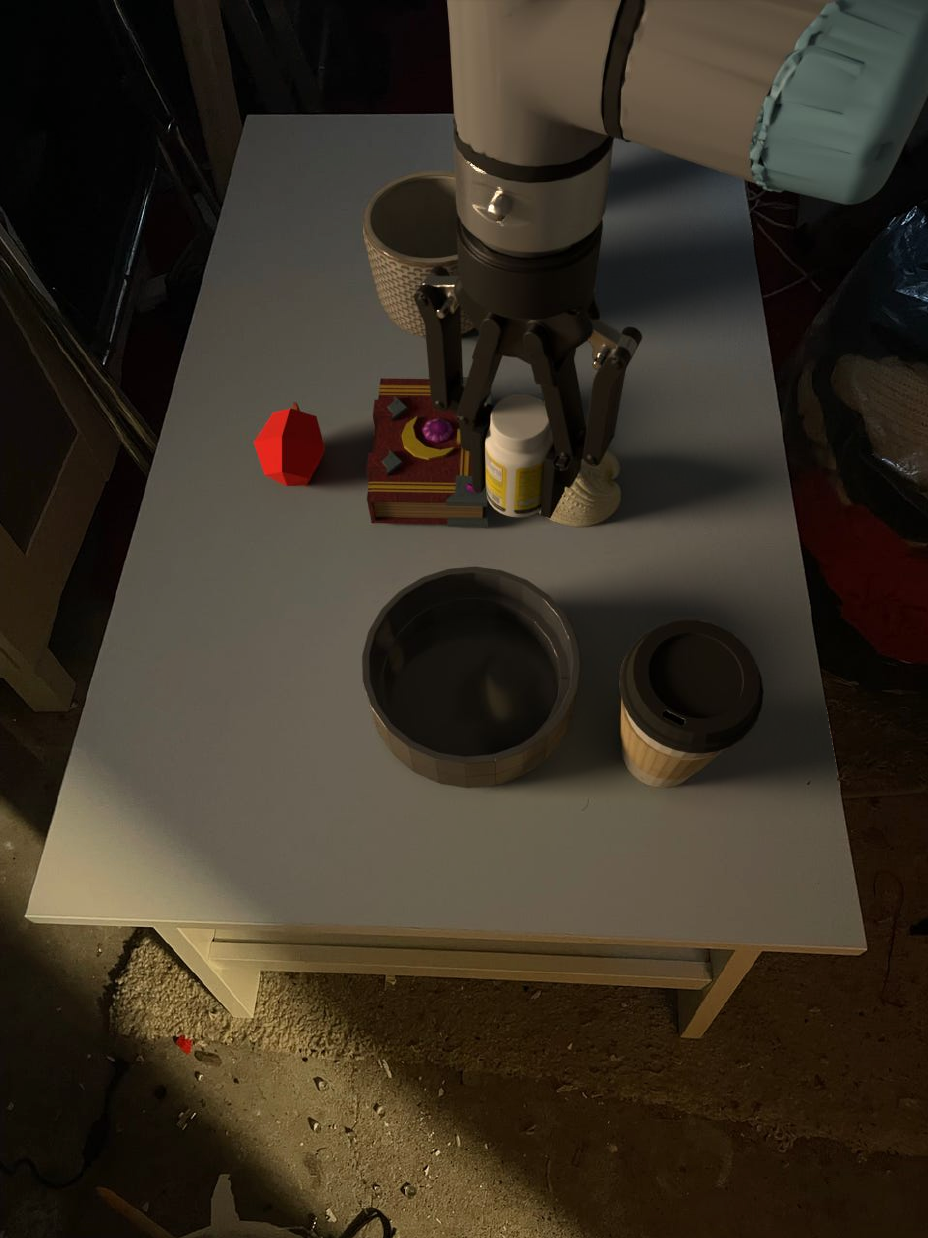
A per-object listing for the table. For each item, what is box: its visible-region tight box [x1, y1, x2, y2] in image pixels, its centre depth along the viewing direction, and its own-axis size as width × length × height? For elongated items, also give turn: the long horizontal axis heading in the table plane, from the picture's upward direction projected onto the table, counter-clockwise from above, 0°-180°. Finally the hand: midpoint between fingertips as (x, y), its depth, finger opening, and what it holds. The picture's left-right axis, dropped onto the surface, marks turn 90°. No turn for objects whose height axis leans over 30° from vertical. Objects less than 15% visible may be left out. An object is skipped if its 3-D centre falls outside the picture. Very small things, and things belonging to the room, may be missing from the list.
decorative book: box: [365, 376, 493, 529], centre depth 86 cm, size 11×16×5 cm
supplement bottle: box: [485, 393, 554, 518], centre depth 62 cm, size 5×5×8 cm
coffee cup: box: [618, 619, 764, 789], centre depth 67 cm, size 10×10×15 cm
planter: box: [362, 170, 476, 339], centre depth 92 cm, size 14×14×13 cm
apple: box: [253, 401, 326, 487], centre depth 86 cm, size 7×7×8 cm
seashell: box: [537, 449, 622, 528], centre depth 83 cm, size 8×8×8 cm
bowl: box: [361, 566, 581, 789], centre depth 73 cm, size 17×17×6 cm
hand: (518, 489), depth 66 cm, fingers closed on supplement bottle, 5 cm apart
